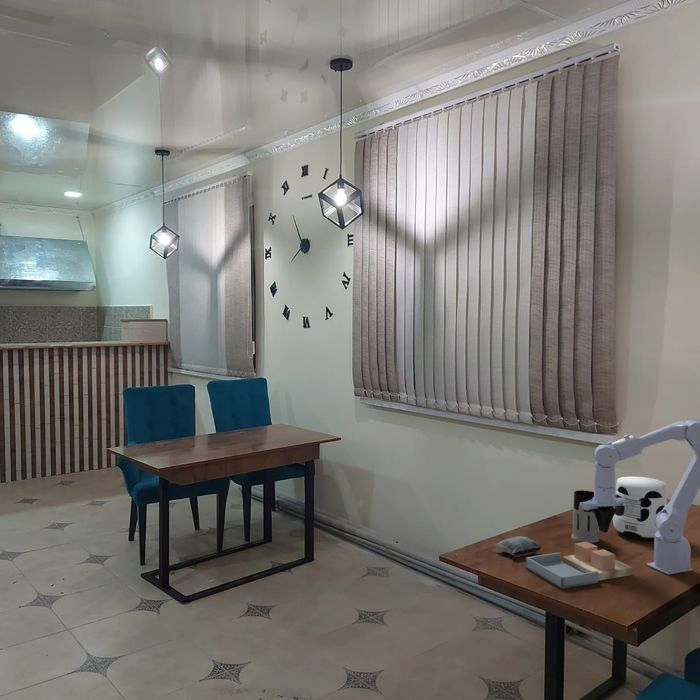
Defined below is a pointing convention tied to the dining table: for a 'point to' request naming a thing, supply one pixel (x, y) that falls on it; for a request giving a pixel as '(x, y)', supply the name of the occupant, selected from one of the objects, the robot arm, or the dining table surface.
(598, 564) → the wooden cube
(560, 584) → the tray
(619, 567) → the board
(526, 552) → the grey green pillow
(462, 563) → the dining table surface
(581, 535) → the glass holder
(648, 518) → the milk container
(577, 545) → the wooden cube
